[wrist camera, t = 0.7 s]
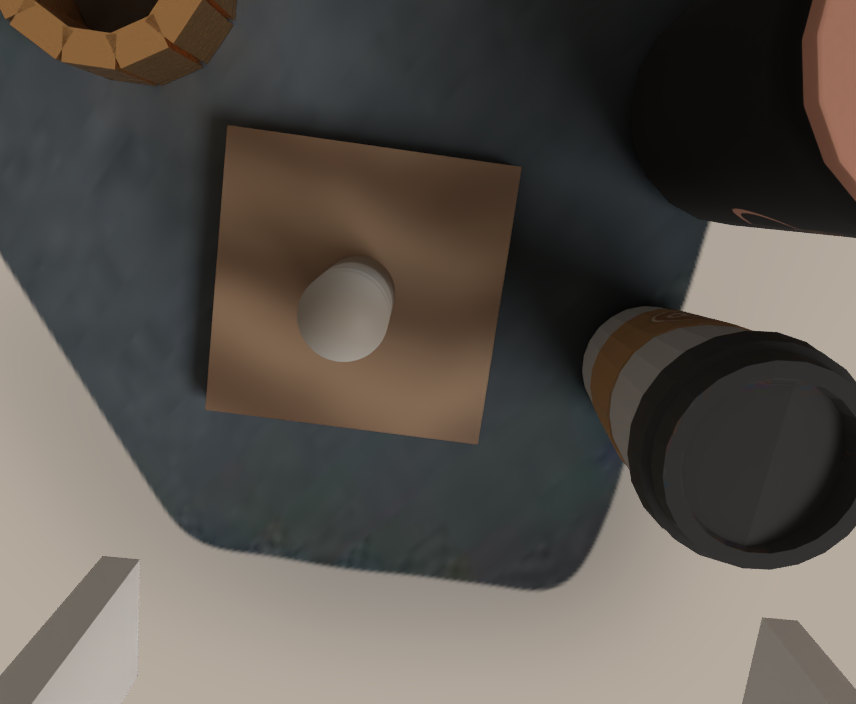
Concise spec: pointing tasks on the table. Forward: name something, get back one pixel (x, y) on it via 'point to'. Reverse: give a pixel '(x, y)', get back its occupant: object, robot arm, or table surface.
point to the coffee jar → (754, 114)
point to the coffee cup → (728, 433)
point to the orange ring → (128, 37)
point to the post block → (357, 284)
